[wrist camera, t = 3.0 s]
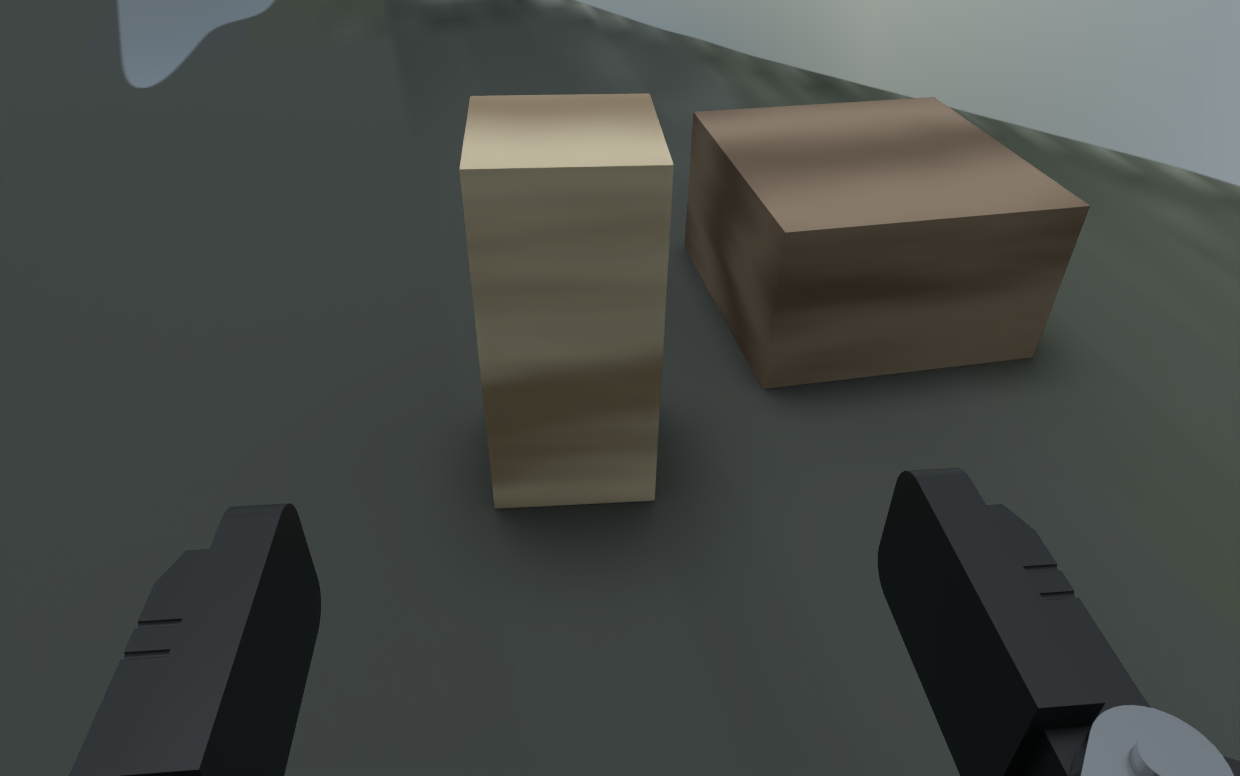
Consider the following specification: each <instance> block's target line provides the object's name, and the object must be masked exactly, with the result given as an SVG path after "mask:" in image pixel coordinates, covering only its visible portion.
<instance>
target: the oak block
mask: <svg viewBox="0 0 1240 776" xmlns="http://www.w3.org/2000/svg"><path fill="white" fill-rule="evenodd" d="M673 166H674V165H673V162H672V159H671V156H670V153H669V150H668V147H667V144H666V141H665V138H664V135H663V132H662V129H661V126H660V123H659V121H658V118H657V115H656V112H655V109H654V106H653V103H652V100H651V97H650V94H585V95H513V96H470V102H469V109H468V116H467V122H466V129H465V136H464V143H463V149H462V156H461V163H460V179H461V189H462V198H463V208H464V218H465V227H466V237H467V247H468V256H469V266H470V275H471V285H472V295H473V304H474V314H475V324H476V333H477V343H478V353H479V362H480V372H481V382H482V391H483V401H484V411H485V420H486V430H487V439H488V449H489V459H490V468H491V478H492V488H493V497H494V507H495V509H501V508H520V507H540V506H559V505H579V504H598V503H618V502H637V501H655V485H656V468H657V450H658V432H659V414H660V397H661V379H662V361H663V343H664V325H665V308H666V290H667V272H668V254H669V237H670V219H671V201H672V183H673Z"/></svg>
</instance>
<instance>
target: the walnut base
mask: <svg viewBox="0 0 1240 776" xmlns="http://www.w3.org/2000/svg"><path fill="white" fill-rule="evenodd" d="M1089 207H1090V206H1089V205H1088V204H1086V203H1085V202H1084V201H1082V200H1081V199H1079V198H1078V197H1076V196H1075V195H1074V194H1072V193H1071V192H1069V191H1068V190H1066V189H1065V188H1064V187H1062V186H1061V185H1059V184H1058V183H1056V182H1055V181H1054V180H1052V179H1051V178H1049V177H1048V176H1046V175H1045V174H1043V173H1042V172H1041V171H1039V170H1038V169H1036V168H1035V167H1033V166H1032V165H1031V164H1029V163H1028V162H1026V161H1025V160H1023V159H1022V158H1021V157H1019V156H1018V155H1016V154H1015V153H1013V152H1012V151H1011V150H1009V149H1008V148H1006V147H1005V146H1003V145H1002V144H1000V143H999V142H998V141H996V140H995V139H993V138H992V137H990V136H989V135H988V134H986V133H985V132H983V131H982V130H980V129H979V128H978V127H976V126H975V125H973V124H972V123H970V122H969V121H967V120H966V119H965V118H963V117H962V116H960V115H959V114H957V113H956V112H955V111H953V110H952V109H950V108H949V107H947V106H946V105H945V104H943V103H942V102H940V101H939V100H937V99H936V98H934V97H931V98H914V99H897V100H881V101H865V102H848V103H832V104H816V105H800V106H783V107H767V108H751V109H734V110H718V111H702V112H694V114H693V129H692V144H691V159H690V174H689V189H688V204H687V219H686V235H685V249H686V250H687V252H688V254H689V256H690V258H691V260H692V261H693V263H694V265H695V267H696V269H697V270H698V272H699V274H700V276H701V278H702V280H703V281H704V283H705V285H706V287H707V289H708V290H709V292H710V294H711V296H712V298H713V299H714V301H715V303H716V305H717V307H718V309H719V310H720V312H721V314H722V316H723V318H724V319H725V321H726V323H727V325H728V327H729V329H730V330H731V332H732V334H733V336H734V338H735V339H736V341H737V343H738V345H739V347H740V349H741V350H742V352H743V354H744V356H745V358H746V359H747V361H748V363H749V365H750V367H751V369H752V370H753V372H754V374H755V376H756V378H757V379H758V381H759V383H760V385H761V387H762V389H768V388H776V387H785V386H793V385H802V384H810V383H819V382H827V381H836V380H844V379H853V378H861V377H870V376H879V375H887V374H896V373H904V372H913V371H921V370H930V369H938V368H947V367H955V366H964V365H972V364H981V363H989V362H998V361H1007V360H1015V359H1024V358H1032V357H1033V356H1034V353H1035V351H1036V348H1037V345H1038V343H1039V340H1040V337H1041V335H1042V332H1043V329H1044V327H1045V324H1046V321H1047V319H1048V316H1049V313H1050V311H1051V308H1052V305H1053V303H1054V300H1055V297H1056V295H1057V292H1058V289H1059V287H1060V284H1061V282H1062V279H1063V276H1064V274H1065V271H1066V268H1067V266H1068V263H1069V260H1070V258H1071V255H1072V252H1073V250H1074V247H1075V244H1076V242H1077V239H1078V236H1079V234H1080V231H1081V228H1082V226H1083V223H1084V221H1085V218H1086V215H1087V213H1088V210H1089Z"/></svg>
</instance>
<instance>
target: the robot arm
mask: <svg viewBox="0 0 1240 776" xmlns="http://www.w3.org/2000/svg"><path fill="white" fill-rule="evenodd" d="M878 571H879V578H880V583H881V587H882V590H883V593H884V596H885V598H886V600H887V603H888V605H889V607H890V610H891V612H892V615H893V617H894V619H895V622H896V624H897V626H898V629H899V631H900V634H901V636H902V638H903V641H904V643H905V645H906V648H907V650H908V653H909V655H910V657H911V660H912V662H913V664H914V667H915V669H916V672H917V674H918V676H919V679H920V681H921V683H922V686H923V688H924V691H925V693H926V695H927V698H928V700H929V702H930V705H931V707H932V710H933V712H934V714H935V717H936V719H937V721H938V724H939V726H940V729H941V731H942V733H943V736H944V738H945V740H946V743H947V745H948V748H949V750H950V752H951V755H952V757H953V759H954V762H955V764H956V767H957V769H958V771H959V774H960V776H1240V761H1238V760H1234V759H1230V758H1227V757H1224V756H1222V755H1221V753H1220V752H1219V751H1218V750H1217V749H1216V747H1215V746H1214V745H1213V744H1212V743H1211V742H1210V741H1209V740H1207V739H1206V738H1205V737H1204V736H1203V735H1202V734H1201V733H1199V732H1198V731H1197V730H1195V729H1194V728H1193V727H1191V726H1190V725H1188V724H1187V723H1185V722H1183V721H1182V720H1180V719H1178V718H1176V717H1174V716H1172V715H1170V714H1168V713H1165V712H1162V711H1160V710H1157V709H1153V708H1151V707H1150V706H1149V704H1148V703H1147V701H1146V700H1145V699H1144V697H1143V696H1142V694H1141V693H1140V691H1139V690H1138V688H1137V687H1136V685H1135V684H1134V682H1133V681H1132V679H1131V677H1130V676H1129V674H1128V673H1127V671H1126V670H1125V668H1124V667H1123V665H1122V664H1121V662H1120V660H1119V659H1118V657H1117V656H1116V654H1115V653H1114V651H1113V650H1112V648H1111V647H1110V645H1109V644H1108V642H1107V640H1106V639H1105V637H1104V636H1103V634H1102V633H1101V631H1100V630H1099V628H1098V627H1097V625H1096V623H1095V622H1094V620H1093V619H1092V617H1091V616H1090V614H1089V613H1088V611H1087V610H1086V608H1085V606H1084V605H1083V603H1082V602H1081V600H1080V599H1079V598H1075V596H1074V590H1073V588H1072V586H1071V585H1070V583H1069V582H1068V580H1067V579H1066V577H1065V576H1064V574H1063V573H1062V571H1058V570H1057V563H1056V562H1055V560H1054V559H1053V557H1052V556H1051V554H1050V552H1049V551H1048V549H1047V548H1046V546H1045V545H1044V543H1043V542H1042V540H1041V539H1040V537H1039V536H1038V534H1037V532H1036V531H1035V530H1033V529H1032V528H1031V527H1030V526H1029V525H1027V524H1026V523H1025V522H1024V521H1022V520H1021V519H1020V518H1019V517H1018V516H1016V515H1015V514H1014V513H1013V512H1012V511H1010V510H1009V509H1008V508H1007V507H1005V506H1004V505H1003V504H998V505H986V504H985V503H984V501H983V499H982V498H981V496H980V494H979V493H978V491H977V489H976V488H975V486H974V484H973V483H972V481H971V479H970V478H969V476H968V475H967V474H966V473H965V472H964V471H963V470H962V469H959V468H949V469H931V470H913V471H904V472H902V473H901V474H900V475H899V477H898V479H897V482H896V486H895V489H894V493H893V497H892V500H891V504H890V508H889V512H888V515H887V519H886V523H885V526H884V530H883V534H882V538H881V541H880V545H879V550H878ZM320 614H321V595H320V586H319V581H318V578H317V574H316V571H315V568H314V565H313V561H312V558H311V555H310V551H309V548H308V545H307V542H306V538H305V535H304V532H303V529H302V525H301V522H300V519H299V516H298V513H297V510H296V508H295V507H294V506H293V505H292V504H272V505H254V506H236V507H230V508H229V509H228V510H227V511H226V512H225V513H224V515H223V518H222V520H221V522H220V525H219V527H218V530H217V532H216V535H215V538H214V540H213V543H212V545H211V548H210V549H205V550H188V551H185V552H184V553H183V554H182V555H181V556H180V557H179V559H178V560H177V561H176V562H175V563H174V564H173V565H172V566H171V567H170V568H169V569H168V570H167V571H166V572H165V573H164V574H163V575H162V576H161V578H160V579H159V580H158V581H157V582H156V583H155V584H154V586H153V588H152V591H151V593H150V595H149V597H148V600H147V602H146V604H145V606H144V609H143V611H142V613H141V615H140V618H139V620H138V628H137V629H134V631H133V633H132V636H131V638H130V640H129V642H128V645H127V647H126V649H125V651H124V653H125V657H124V660H120V663H119V665H118V667H117V669H116V672H115V674H114V676H113V678H112V681H111V683H110V685H109V687H108V690H107V692H106V694H105V696H104V699H103V701H102V703H101V705H100V708H99V710H98V712H97V714H96V717H95V719H94V721H93V723H92V726H91V728H90V730H89V732H88V735H87V737H86V739H85V741H84V744H83V746H82V748H81V750H80V753H79V755H78V757H77V759H76V762H75V764H74V766H73V768H72V771H71V773H70V775H69V776H284V774H285V769H286V765H287V761H288V757H289V752H290V748H291V744H292V740H293V735H294V731H295V727H296V723H297V719H298V714H299V710H300V706H301V702H302V697H303V693H304V689H305V685H306V680H307V676H308V672H309V668H310V663H311V659H312V655H313V651H314V646H315V642H316V638H317V634H318V629H319V623H320Z"/></svg>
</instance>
